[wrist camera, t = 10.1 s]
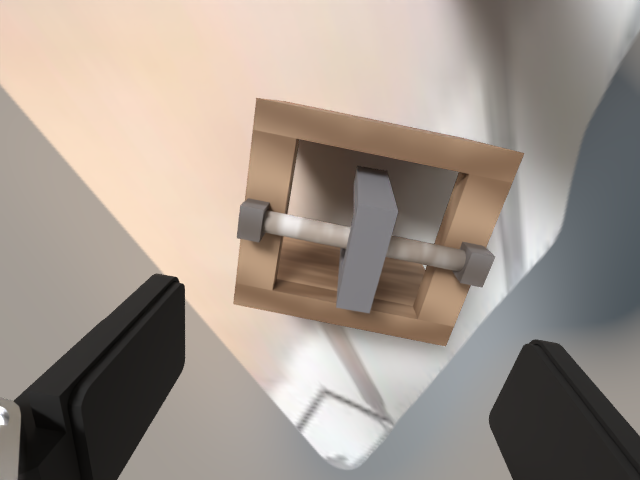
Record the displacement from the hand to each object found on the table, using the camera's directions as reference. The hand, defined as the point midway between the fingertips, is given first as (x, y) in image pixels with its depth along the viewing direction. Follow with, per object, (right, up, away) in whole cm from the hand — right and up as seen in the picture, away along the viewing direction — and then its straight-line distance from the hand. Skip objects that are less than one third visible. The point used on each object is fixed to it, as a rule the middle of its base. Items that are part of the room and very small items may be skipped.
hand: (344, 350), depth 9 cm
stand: (+3, +8, +27) cm, 28 cm away
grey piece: (+3, +5, +20) cm, 21 cm away
